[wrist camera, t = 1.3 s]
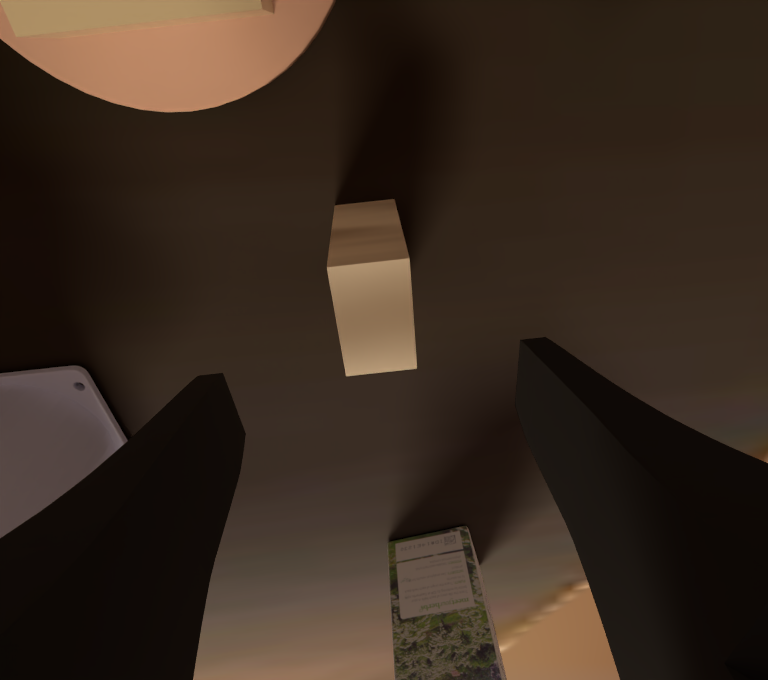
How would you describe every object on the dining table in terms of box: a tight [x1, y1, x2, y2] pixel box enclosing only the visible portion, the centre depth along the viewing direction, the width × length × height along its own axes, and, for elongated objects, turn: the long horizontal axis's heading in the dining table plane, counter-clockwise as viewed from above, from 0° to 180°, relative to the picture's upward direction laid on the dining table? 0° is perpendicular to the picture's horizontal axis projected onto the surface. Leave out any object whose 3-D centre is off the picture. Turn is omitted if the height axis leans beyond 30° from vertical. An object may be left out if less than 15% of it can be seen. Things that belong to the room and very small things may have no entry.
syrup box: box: [387, 526, 507, 680], centre depth 26 cm, size 6×6×14 cm
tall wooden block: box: [327, 199, 417, 376], centre depth 17 cm, size 4×2×6 cm, turn 5°
